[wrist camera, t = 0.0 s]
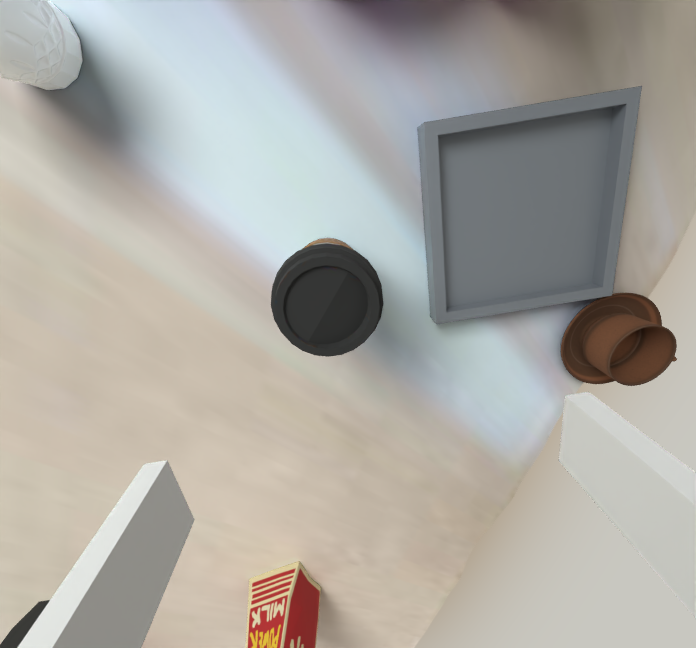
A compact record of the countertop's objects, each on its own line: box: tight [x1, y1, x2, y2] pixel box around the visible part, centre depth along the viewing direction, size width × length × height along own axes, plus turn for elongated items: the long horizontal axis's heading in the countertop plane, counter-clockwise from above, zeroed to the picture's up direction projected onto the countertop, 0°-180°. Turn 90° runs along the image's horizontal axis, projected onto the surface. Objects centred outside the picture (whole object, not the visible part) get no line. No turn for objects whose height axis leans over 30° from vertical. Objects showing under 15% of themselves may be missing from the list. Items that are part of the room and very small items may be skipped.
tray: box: [418, 86, 642, 324], centre depth 35 cm, size 20×20×2 cm
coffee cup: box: [271, 238, 383, 356], centre depth 30 cm, size 8×8×15 cm
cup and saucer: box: [561, 293, 677, 386], centre depth 39 cm, size 12×12×6 cm
